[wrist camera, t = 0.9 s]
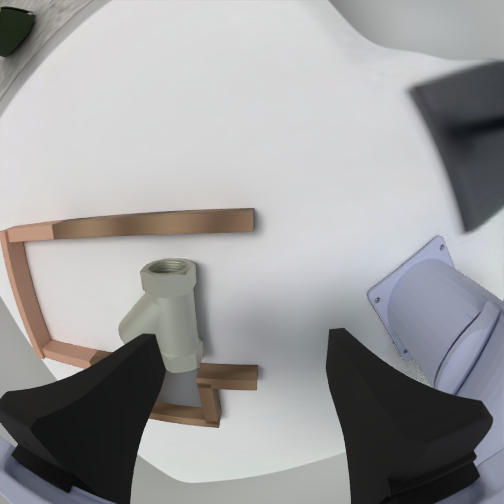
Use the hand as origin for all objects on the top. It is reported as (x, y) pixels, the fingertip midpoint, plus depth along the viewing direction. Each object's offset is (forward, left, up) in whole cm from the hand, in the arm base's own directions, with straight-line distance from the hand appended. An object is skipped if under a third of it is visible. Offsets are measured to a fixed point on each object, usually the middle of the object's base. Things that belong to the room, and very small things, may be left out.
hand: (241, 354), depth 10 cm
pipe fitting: (+2, +8, -10) cm, 13 cm away
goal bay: (+9, +17, -9) cm, 22 cm away
